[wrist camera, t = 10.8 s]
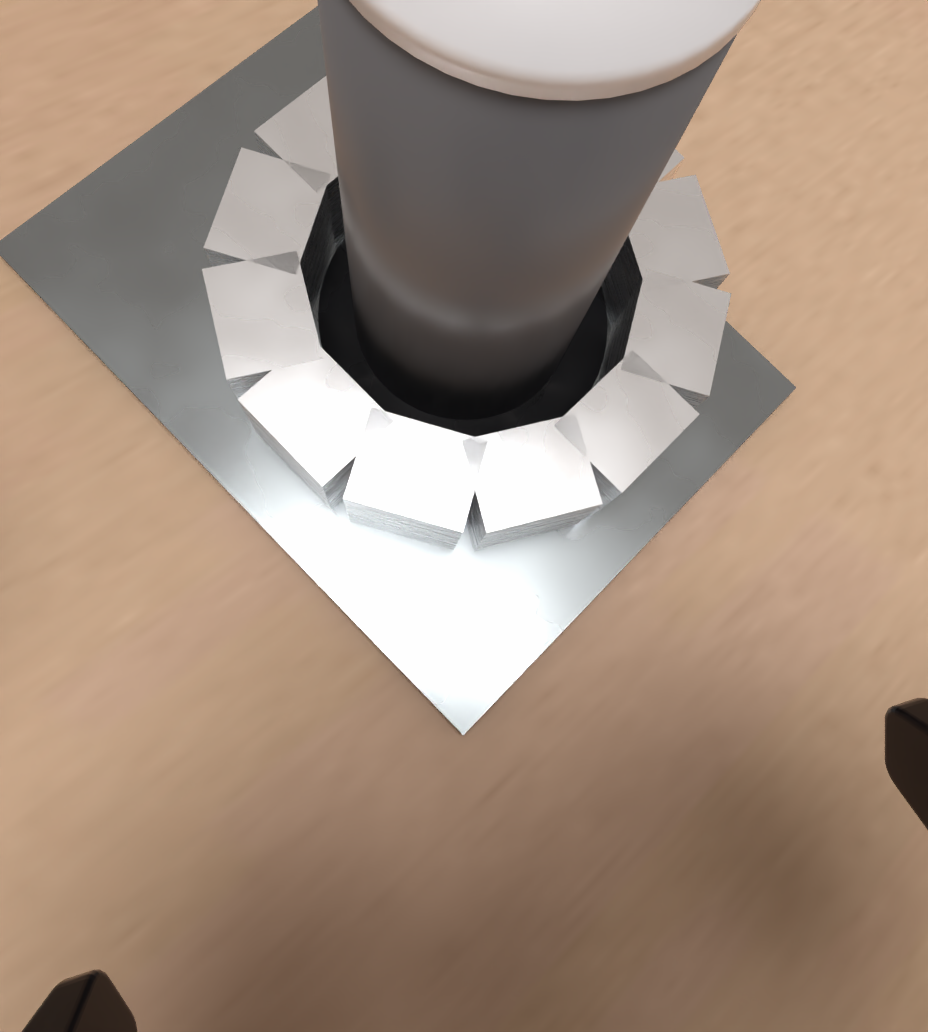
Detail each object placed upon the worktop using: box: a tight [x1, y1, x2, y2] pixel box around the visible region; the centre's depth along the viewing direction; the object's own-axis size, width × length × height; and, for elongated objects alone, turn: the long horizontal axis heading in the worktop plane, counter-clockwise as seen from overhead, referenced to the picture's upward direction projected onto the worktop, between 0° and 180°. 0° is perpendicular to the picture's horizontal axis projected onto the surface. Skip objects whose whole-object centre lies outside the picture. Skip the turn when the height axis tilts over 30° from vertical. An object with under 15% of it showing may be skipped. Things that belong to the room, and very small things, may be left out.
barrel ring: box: [0, 6, 796, 735], centre depth 18 cm, size 16×13×3 cm
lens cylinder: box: [318, 0, 761, 420], centre depth 13 cm, size 5×5×11 cm
